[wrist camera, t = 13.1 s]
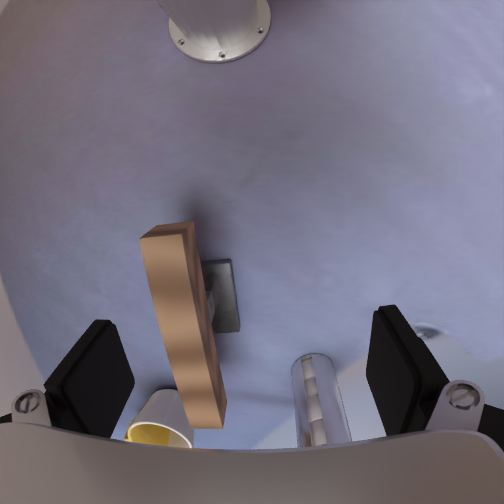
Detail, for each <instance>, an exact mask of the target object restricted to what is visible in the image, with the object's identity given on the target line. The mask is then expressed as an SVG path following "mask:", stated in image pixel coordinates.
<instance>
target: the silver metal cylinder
mask: <svg viewBox="0 0 504 504" xmlns="http://www.w3.org/2000/svg"><path fill="white" fill-rule="evenodd" d="M291 374H292V385H293V396H294V408H295V420H296V432H297V445H298V448H299V447H311V446H322V445H330V444H339V443H347V442H352V438H351V433H350V430H349V425H348V421H347V417H346V414H345V409H344V405H343V401H342V398H341V394H340V390H339V386H338V382H337V379H336V375H335V371H334V367H333V364H332V362H331V360H330V359H329V358H328V357H326V356H324V355H322V354H309V355H305V356H303V357H301V358H300V359H298V360H297V361H296V362H295V363H294V365H293V367H292V372H291Z"/></svg>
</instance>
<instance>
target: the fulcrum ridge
mask: <svg viewBox="0 0 504 504" xmlns="http://www.w3.org/2000/svg"><path fill="white" fill-rule="evenodd" d="M200 263H201V269H202V275H203V281H204V287H205V292H206V298H207V304H208V309H209V315H210V320H211V325H212V331H213V333H229V332H239V331H240V322H239V315H238V308H237V301H236V294H235V286H234V279H233V272H232V265H231V259H227V260H215V261H203V262H200Z"/></svg>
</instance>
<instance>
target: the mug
mask: <svg viewBox="0 0 504 504" xmlns="http://www.w3.org/2000/svg"><path fill="white" fill-rule="evenodd" d="M124 441H129V442H136V443H143V444H151V445H161V446H171V447H183V448H193V443H194V428H191V427H190V424H189V421H188V418H187V415H186V412H185V409H184V407H183V404H182V401H181V398H180V395H179V391H178V390H174V389H163V390H159V391H156V392H155V393H153V394H152V396H151V397H150V399H149V400H148V402H147V403H146V404H145V406H144V407H143V409H142V410H141V411H140V413H139V414H138V415H137V417H136V418H135V419H134V420H133V421H132V422H131V424H130V426H129V428H128V430H127V432H126V434H125V437H124Z"/></svg>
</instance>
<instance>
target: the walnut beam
mask: <svg viewBox="0 0 504 504" xmlns="http://www.w3.org/2000/svg"><path fill="white" fill-rule="evenodd" d="M139 241H140V246H141V251H142V255H143V260H144V265H145V270H146V274H147V278H148V283H149V287H150V291H151V296H152V300H153V304H154V308H155V312H156V316H157V320H158V323H159V327H160V331H161V335H162V338H163V342H164V345H165V349H166V352H167V356H168V359H169V363H170V366H171V369H172V372H173V376H174V379H175V382H176V385H177V388H178V391H179V395H180V398H181V401H182V404H183V407H184V409H185V412H186V415H187V418H188V421H189V424H190V427H191V428H206V429H223V425H224V418H225V412H226V405H227V399H226V394H225V390H224V385H223V380H222V376H221V371H220V366H219V361H218V356H217V351H216V346H215V341H214V336H213V331H212V325H211V320H210V315H209V309H208V304H207V298H206V292H205V287H204V281H203V275H202V269H201V263H200V257H199V250H198V244H197V238H196V231H195V224H194V221H191V222H182V223H173V224H164V225H157V226H155V227H154V228H153V229H151V230H150V231H149V232H147V233H146V234H145V235H143V236H142V237H141V238H139Z"/></svg>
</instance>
